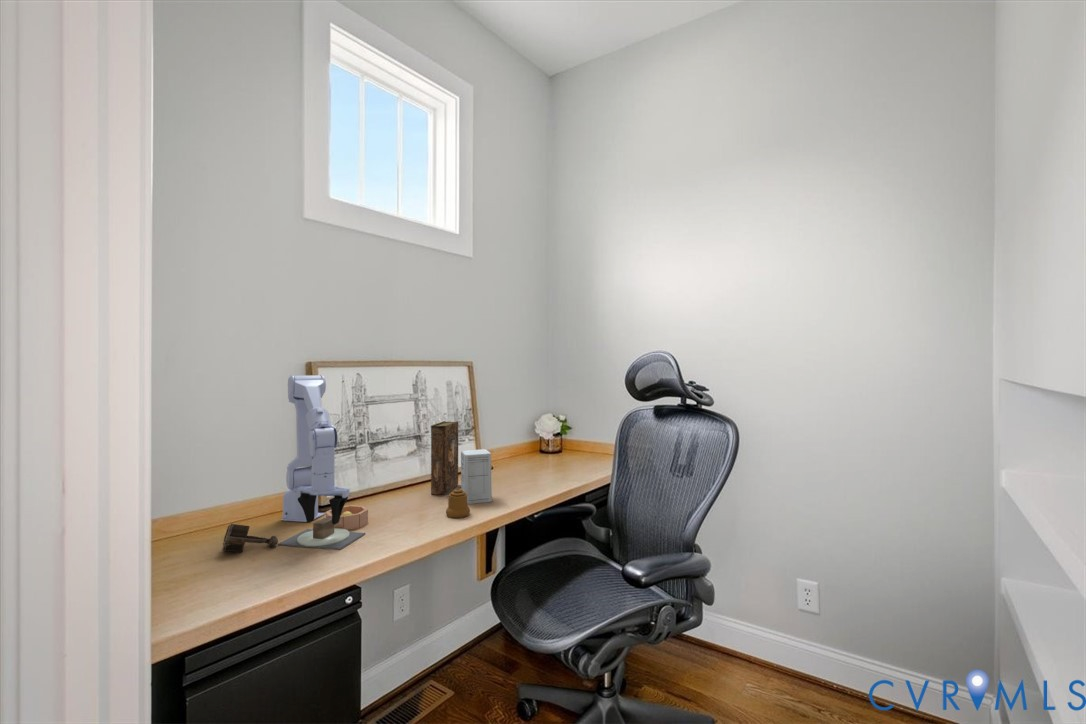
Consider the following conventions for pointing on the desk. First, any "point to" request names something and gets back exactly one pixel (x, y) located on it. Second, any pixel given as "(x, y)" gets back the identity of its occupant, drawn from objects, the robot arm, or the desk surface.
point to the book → (444, 457)
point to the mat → (337, 546)
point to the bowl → (351, 517)
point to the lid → (323, 534)
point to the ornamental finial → (457, 504)
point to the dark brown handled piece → (243, 538)
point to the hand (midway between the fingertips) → (323, 522)
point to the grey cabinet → (476, 475)
